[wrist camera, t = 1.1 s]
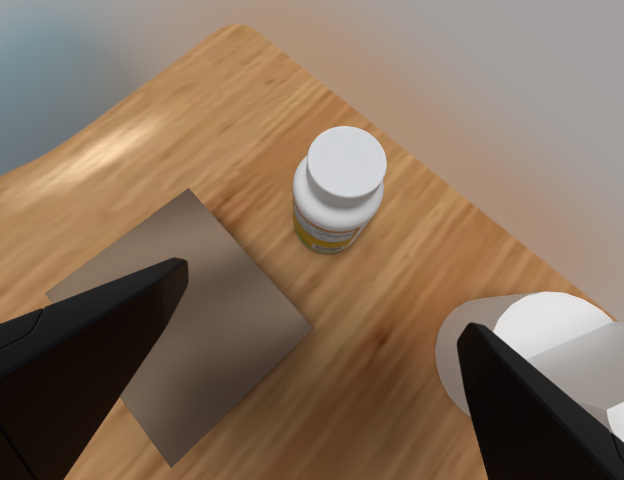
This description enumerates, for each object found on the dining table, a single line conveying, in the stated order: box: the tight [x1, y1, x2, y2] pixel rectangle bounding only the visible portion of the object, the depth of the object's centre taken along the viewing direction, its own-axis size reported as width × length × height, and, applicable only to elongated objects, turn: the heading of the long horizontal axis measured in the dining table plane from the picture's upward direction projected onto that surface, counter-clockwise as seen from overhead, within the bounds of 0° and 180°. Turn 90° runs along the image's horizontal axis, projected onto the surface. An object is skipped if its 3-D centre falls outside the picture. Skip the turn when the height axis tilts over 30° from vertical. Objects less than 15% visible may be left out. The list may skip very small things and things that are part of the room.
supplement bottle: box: [293, 126, 387, 254], centre depth 19 cm, size 5×5×10 cm
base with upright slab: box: [435, 292, 624, 442], centre depth 16 cm, size 9×9×12 cm
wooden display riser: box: [45, 188, 314, 468], centre depth 19 cm, size 12×10×4 cm
